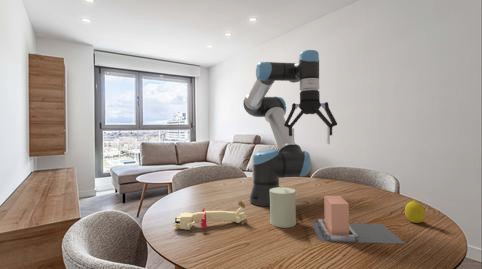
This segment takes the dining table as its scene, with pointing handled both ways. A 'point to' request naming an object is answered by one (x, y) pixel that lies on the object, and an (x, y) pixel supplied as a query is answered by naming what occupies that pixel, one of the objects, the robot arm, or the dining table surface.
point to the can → (282, 207)
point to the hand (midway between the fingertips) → (310, 144)
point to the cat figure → (209, 217)
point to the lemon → (414, 212)
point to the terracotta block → (336, 215)
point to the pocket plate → (358, 233)
